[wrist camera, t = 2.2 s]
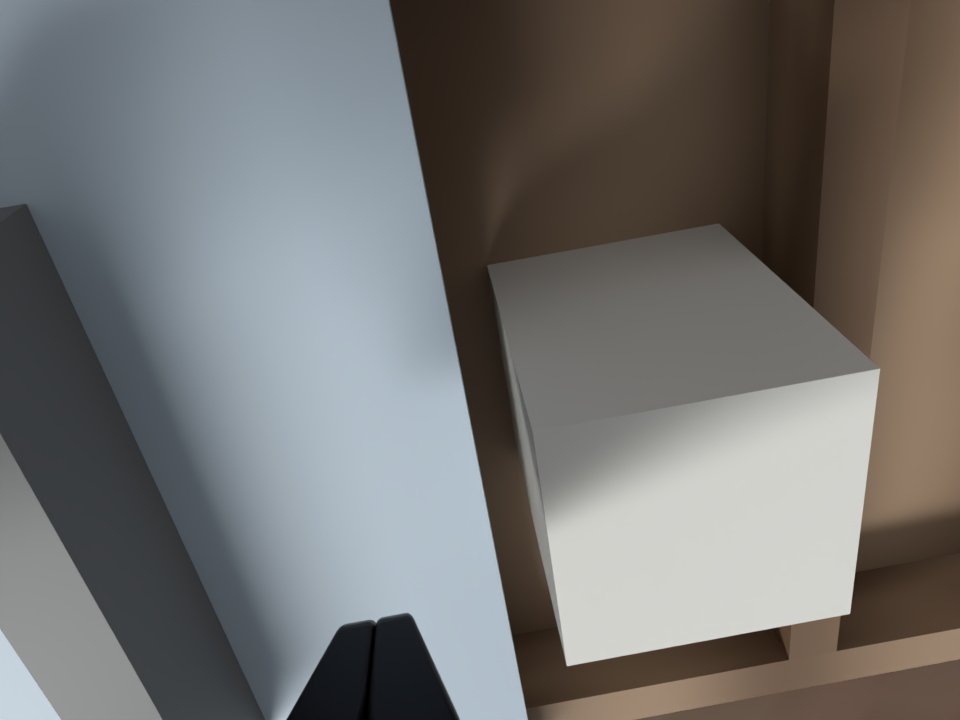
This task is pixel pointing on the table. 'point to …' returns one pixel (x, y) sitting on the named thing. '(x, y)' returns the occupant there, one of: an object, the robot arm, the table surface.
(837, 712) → the table surface
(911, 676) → the table surface
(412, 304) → the lid
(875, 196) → the bins
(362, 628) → the robot arm
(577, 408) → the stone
